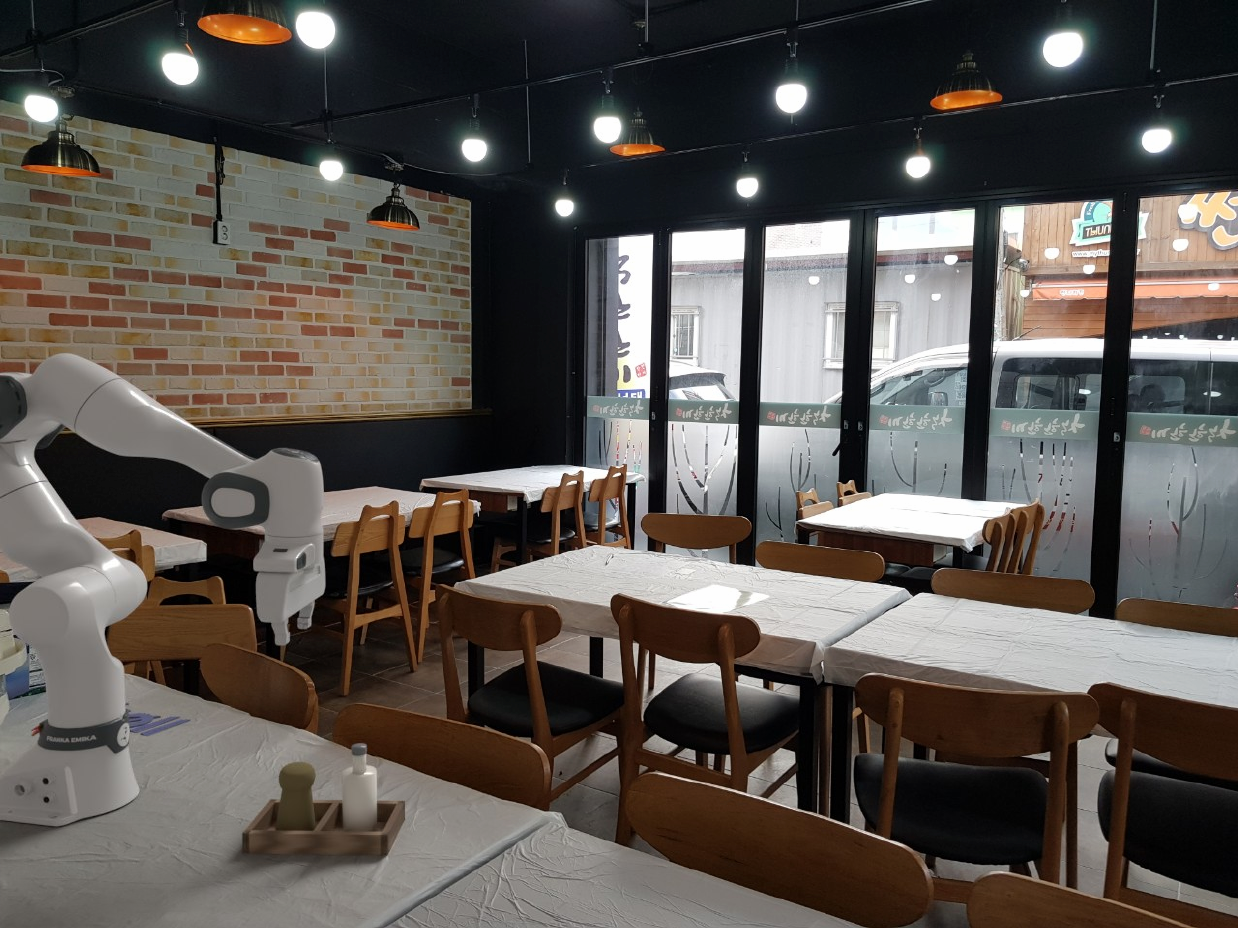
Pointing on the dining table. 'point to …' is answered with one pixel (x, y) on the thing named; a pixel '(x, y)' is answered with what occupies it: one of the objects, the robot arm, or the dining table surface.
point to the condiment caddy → (324, 832)
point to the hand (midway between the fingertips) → (293, 635)
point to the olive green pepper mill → (296, 798)
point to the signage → (147, 718)
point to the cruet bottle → (359, 793)
